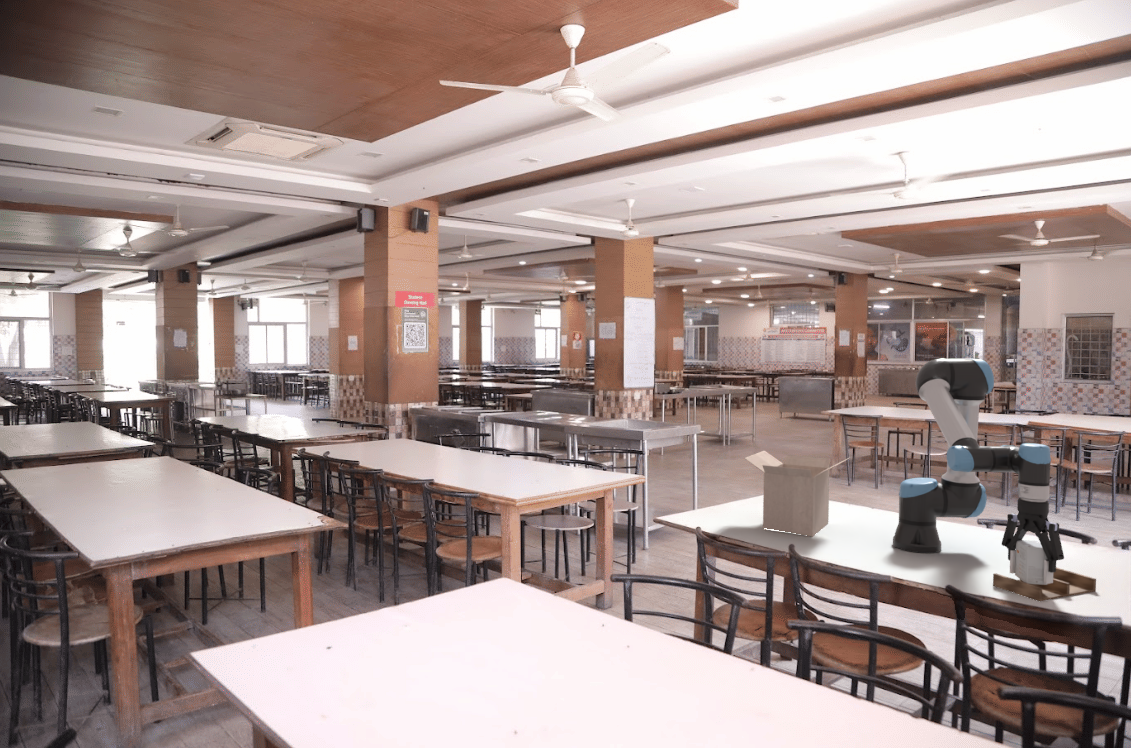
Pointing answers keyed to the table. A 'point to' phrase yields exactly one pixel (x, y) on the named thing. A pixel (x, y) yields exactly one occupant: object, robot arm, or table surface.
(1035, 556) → the small box
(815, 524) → the box
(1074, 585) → the rack
